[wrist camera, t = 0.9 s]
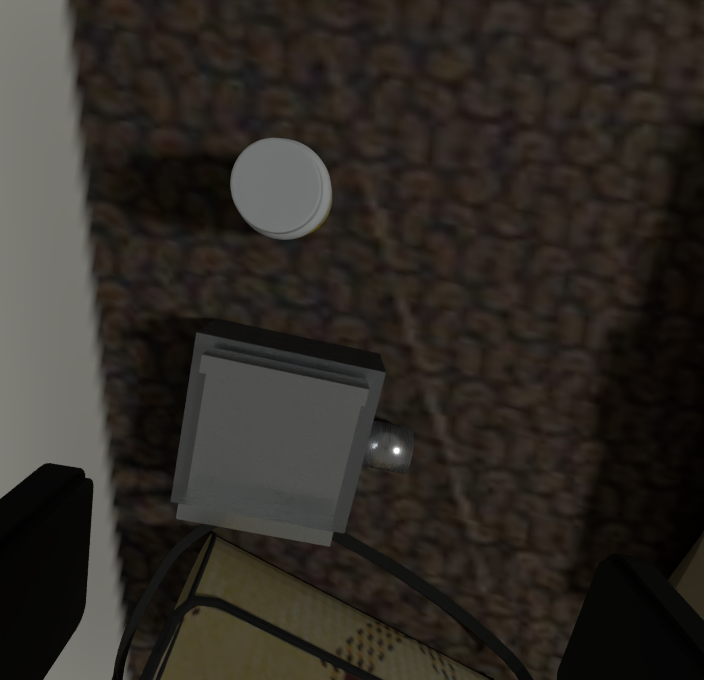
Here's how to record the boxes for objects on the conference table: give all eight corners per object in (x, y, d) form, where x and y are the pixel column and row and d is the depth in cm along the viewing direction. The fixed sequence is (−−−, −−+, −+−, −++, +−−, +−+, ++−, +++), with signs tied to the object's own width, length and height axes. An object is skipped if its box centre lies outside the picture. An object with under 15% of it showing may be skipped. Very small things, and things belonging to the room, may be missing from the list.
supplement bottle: (246, 223, 28) (208, 223, 20) (265, 145, 27) (232, 111, 19) (321, 246, 29) (313, 254, 21) (342, 170, 28) (343, 146, 20)
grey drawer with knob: (215, 318, 30) (183, 341, 24) (423, 363, 31) (443, 396, 25) (191, 468, 32) (157, 522, 26) (384, 505, 33) (393, 565, 27)
